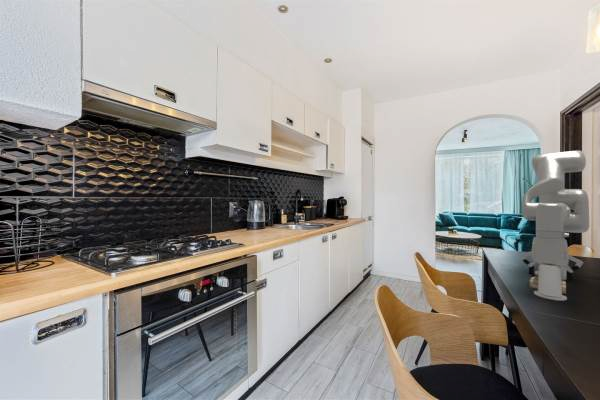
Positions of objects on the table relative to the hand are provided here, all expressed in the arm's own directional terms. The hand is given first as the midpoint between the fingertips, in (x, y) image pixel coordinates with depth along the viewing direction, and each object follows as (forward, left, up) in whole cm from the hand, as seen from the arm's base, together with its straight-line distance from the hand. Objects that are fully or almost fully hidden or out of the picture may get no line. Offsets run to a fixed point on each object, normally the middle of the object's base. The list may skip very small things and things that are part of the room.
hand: (549, 279), depth 96 cm
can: (0, 0, -6) cm, 6 cm away
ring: (-13, -1, -6) cm, 15 cm away
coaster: (0, 0, -6) cm, 6 cm away
